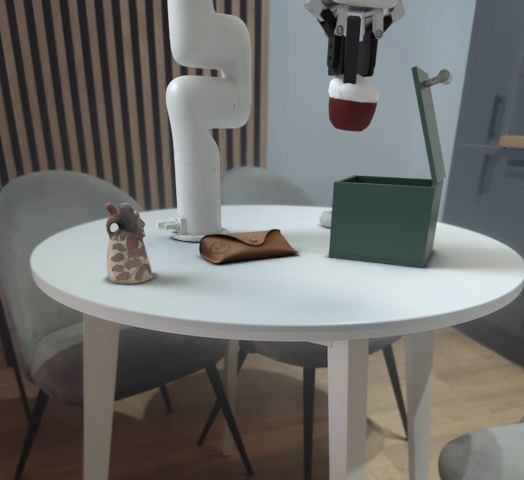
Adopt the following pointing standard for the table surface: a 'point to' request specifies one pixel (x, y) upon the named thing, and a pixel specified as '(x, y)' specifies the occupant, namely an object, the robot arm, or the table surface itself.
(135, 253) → the figurine
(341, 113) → the cocoa
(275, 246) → the sunglasses case
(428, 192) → the trash bin
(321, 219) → the donut
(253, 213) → the table surface
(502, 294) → the table surface
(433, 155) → the bin lid
